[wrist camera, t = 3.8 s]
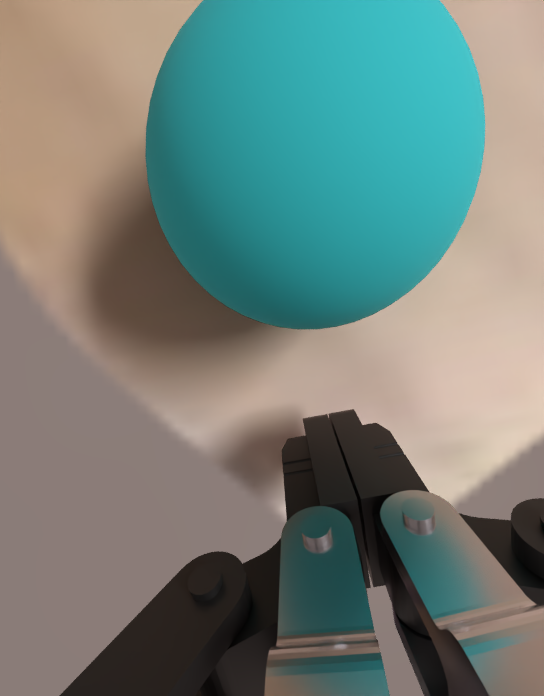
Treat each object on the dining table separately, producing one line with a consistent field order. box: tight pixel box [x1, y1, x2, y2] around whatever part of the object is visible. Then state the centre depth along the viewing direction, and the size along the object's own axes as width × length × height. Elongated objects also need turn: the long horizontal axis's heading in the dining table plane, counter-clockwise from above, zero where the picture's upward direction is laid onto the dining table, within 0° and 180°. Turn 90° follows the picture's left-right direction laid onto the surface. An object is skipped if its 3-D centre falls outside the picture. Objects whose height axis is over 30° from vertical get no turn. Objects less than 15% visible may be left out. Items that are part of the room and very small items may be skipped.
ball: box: [146, 0, 485, 329], centre depth 7 cm, size 6×6×6 cm
